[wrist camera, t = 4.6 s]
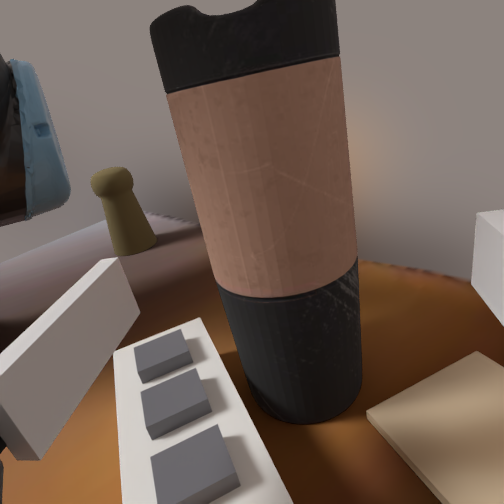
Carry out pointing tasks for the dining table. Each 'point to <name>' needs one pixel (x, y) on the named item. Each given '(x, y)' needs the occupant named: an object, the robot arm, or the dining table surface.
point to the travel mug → (272, 192)
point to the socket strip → (187, 426)
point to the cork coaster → (451, 430)
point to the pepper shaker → (122, 211)
